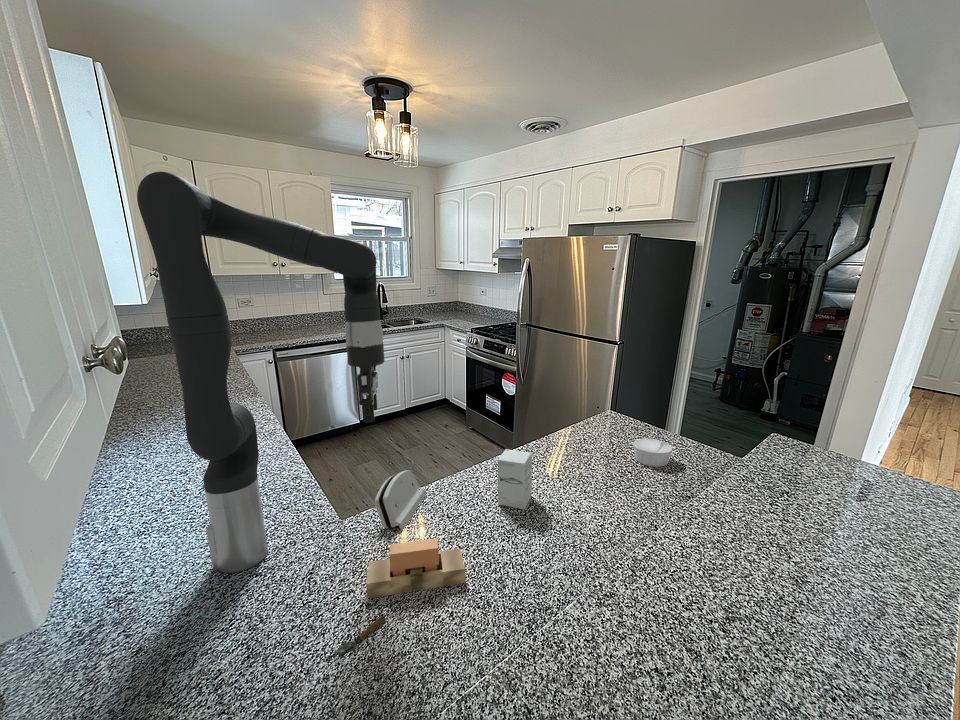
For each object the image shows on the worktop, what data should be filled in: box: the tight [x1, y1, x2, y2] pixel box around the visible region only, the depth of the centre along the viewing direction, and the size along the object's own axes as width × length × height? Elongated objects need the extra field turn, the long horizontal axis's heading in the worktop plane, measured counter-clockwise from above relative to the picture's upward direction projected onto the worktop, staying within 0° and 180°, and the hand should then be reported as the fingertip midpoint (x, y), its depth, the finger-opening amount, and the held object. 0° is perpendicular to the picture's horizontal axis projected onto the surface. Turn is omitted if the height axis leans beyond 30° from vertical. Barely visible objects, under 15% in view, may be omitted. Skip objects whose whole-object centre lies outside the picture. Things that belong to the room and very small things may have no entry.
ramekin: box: [632, 438, 673, 468], centre depth 123 cm, size 11×11×5 cm
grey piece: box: [374, 469, 427, 531], centre depth 99 cm, size 17×5×10 cm, turn 167°
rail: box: [365, 548, 466, 599], centre depth 75 cm, size 18×6×3 cm, turn 101°
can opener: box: [333, 615, 386, 657], centre depth 63 cm, size 9×2×1 cm, turn 135°
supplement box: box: [497, 448, 533, 510], centre depth 101 cm, size 7×7×13 cm
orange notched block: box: [388, 537, 439, 577], centre depth 75 cm, size 9×3×7 cm, turn 100°
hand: (370, 415), depth 86 cm, fingers open, 8 cm apart
